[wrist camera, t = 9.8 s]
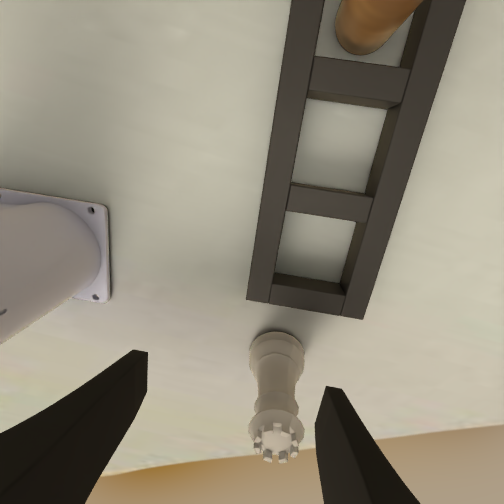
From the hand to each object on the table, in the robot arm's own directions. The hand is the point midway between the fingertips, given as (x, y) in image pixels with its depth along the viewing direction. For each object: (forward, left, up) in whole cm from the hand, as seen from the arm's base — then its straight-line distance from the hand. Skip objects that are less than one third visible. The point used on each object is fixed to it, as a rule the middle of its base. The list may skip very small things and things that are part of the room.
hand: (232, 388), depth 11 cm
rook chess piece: (+3, -6, -11) cm, 12 cm away
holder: (+4, +10, -10) cm, 15 cm away
